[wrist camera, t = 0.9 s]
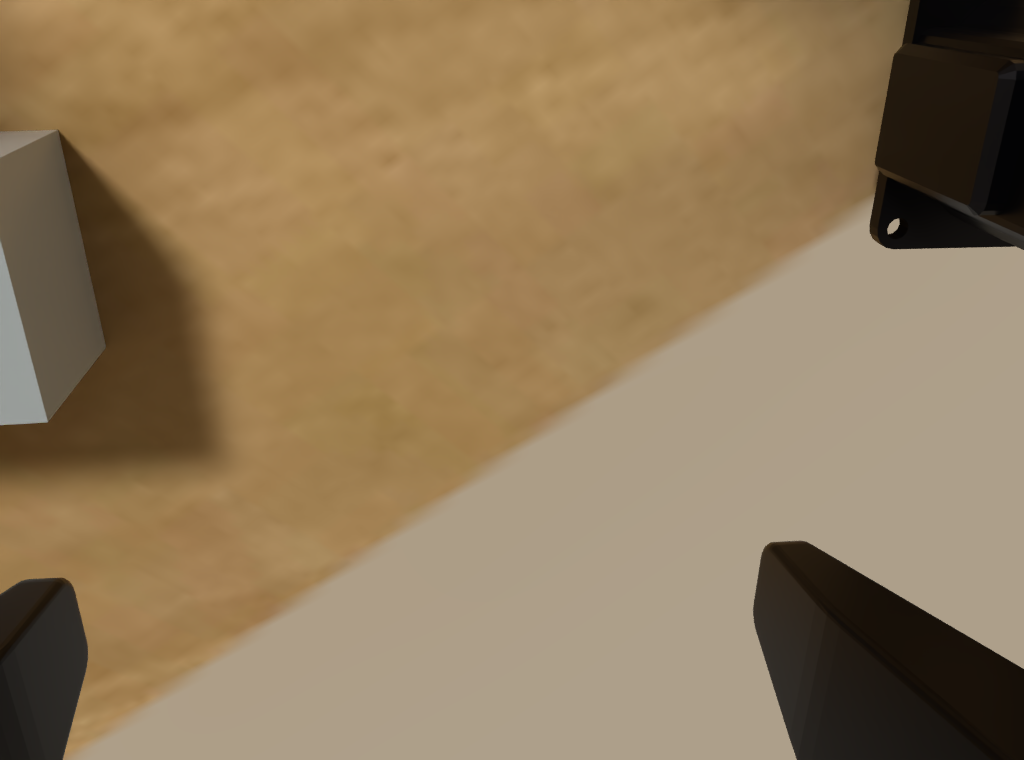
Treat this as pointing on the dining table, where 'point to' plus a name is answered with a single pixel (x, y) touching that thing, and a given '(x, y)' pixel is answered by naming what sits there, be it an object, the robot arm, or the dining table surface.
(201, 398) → the dining table surface
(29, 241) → the light grey block
